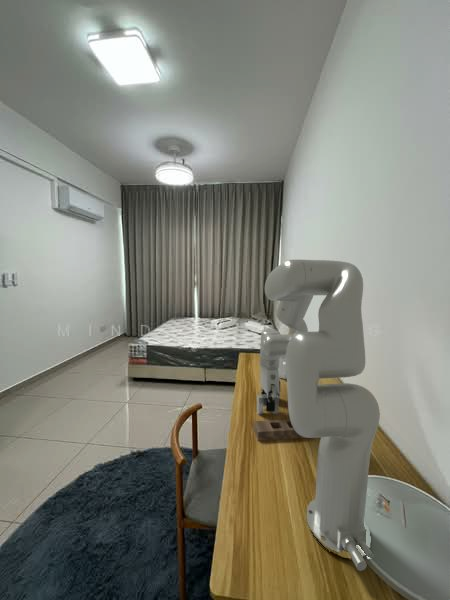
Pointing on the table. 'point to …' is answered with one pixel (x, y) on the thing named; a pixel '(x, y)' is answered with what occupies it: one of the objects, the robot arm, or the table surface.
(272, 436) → the rail
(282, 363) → the mug
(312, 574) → the table surface
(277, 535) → the table surface
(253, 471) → the table surface
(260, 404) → the grey boxy piece
